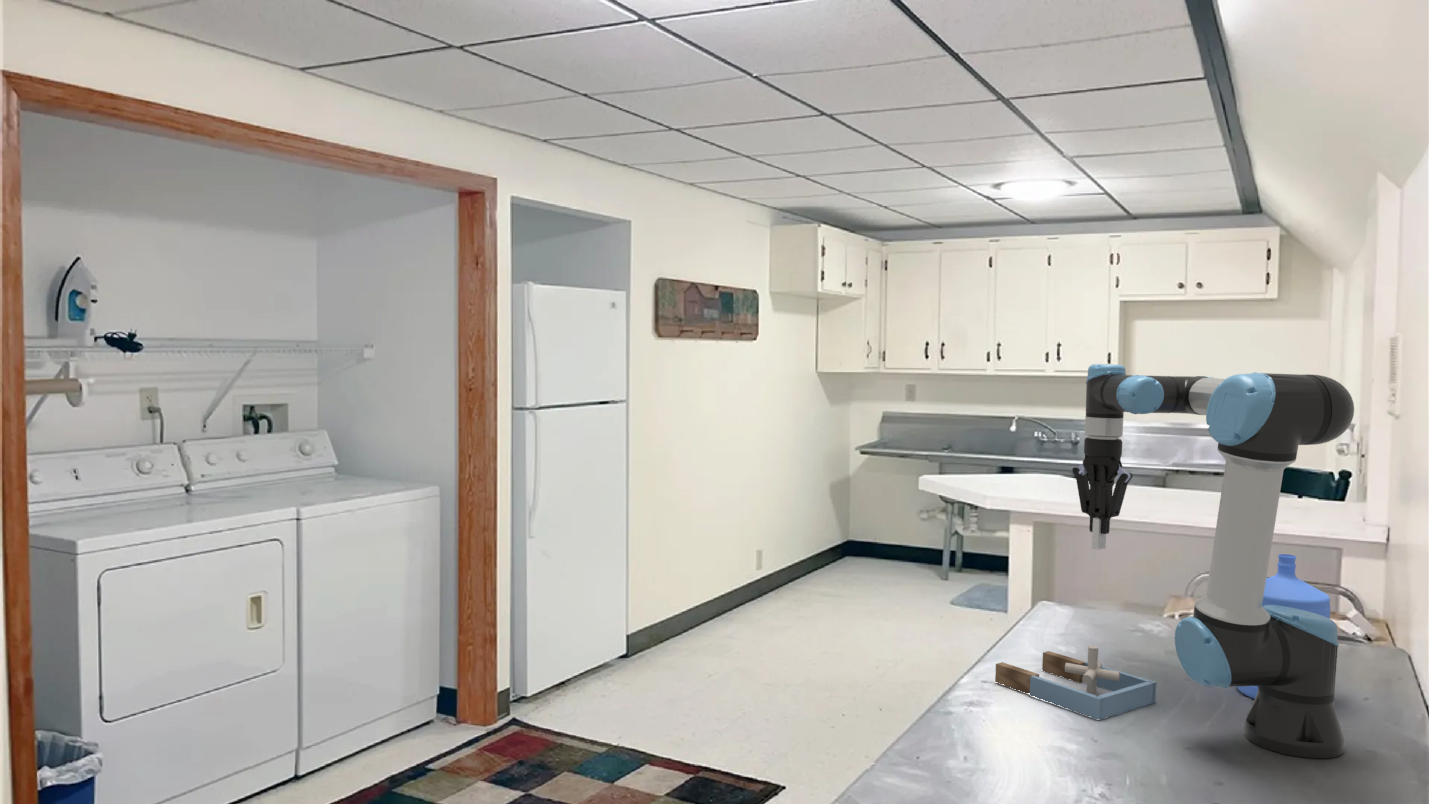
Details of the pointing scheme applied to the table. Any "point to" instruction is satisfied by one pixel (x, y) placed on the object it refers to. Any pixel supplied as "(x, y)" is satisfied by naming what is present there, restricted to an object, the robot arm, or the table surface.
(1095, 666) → the pipe connector
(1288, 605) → the water jug
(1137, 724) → the table surface
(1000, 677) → the slot rails
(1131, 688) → the bin
